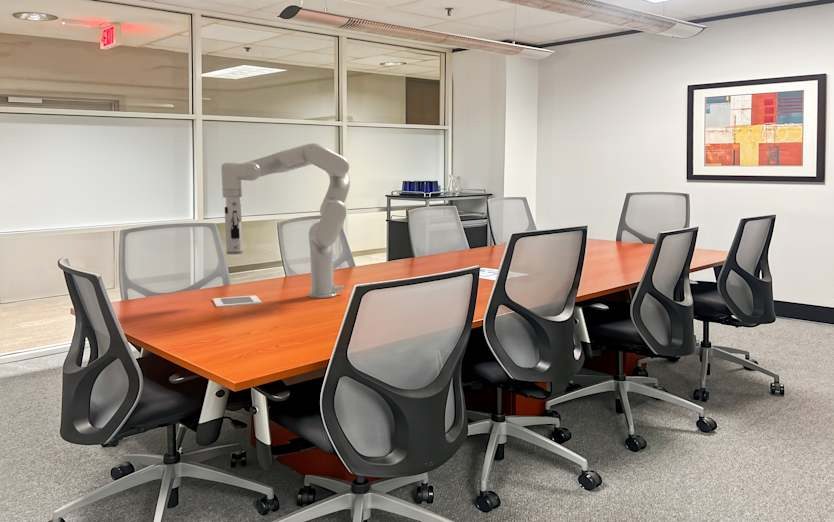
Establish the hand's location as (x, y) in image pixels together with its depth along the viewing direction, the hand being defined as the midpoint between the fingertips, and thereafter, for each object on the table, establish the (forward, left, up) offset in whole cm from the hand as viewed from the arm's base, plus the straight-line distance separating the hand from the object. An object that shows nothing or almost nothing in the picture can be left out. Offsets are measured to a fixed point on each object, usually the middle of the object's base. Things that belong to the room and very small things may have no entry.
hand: (234, 237), depth 297 cm
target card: (0, 0, -27) cm, 27 cm away
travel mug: (0, 0, -7) cm, 7 cm away
